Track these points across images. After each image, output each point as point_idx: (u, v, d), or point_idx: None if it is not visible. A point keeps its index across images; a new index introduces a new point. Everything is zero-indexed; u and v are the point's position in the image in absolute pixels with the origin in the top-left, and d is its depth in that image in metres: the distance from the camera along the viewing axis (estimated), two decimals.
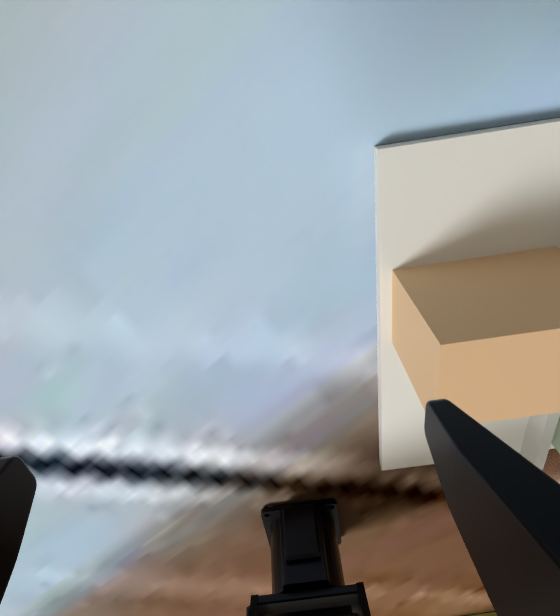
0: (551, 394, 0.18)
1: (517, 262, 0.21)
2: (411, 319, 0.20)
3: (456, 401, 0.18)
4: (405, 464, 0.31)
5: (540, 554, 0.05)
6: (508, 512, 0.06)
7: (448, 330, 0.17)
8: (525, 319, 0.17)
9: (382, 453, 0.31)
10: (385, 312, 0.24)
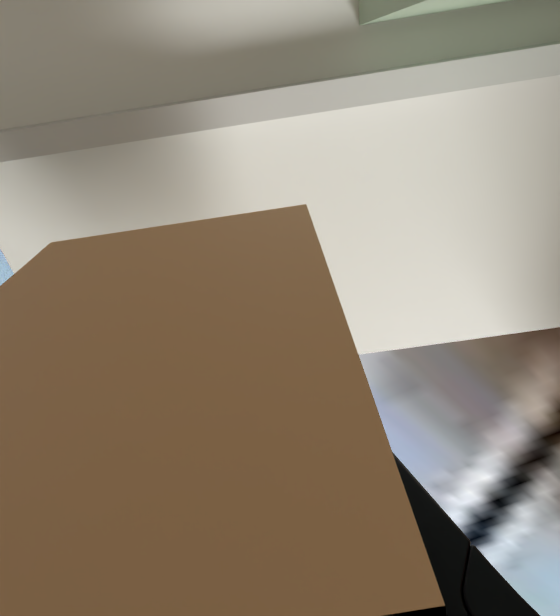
0: None
1: None
2: None
3: None
4: None
5: None
6: None
7: None
8: None
9: (540, 328, 0.19)
10: None
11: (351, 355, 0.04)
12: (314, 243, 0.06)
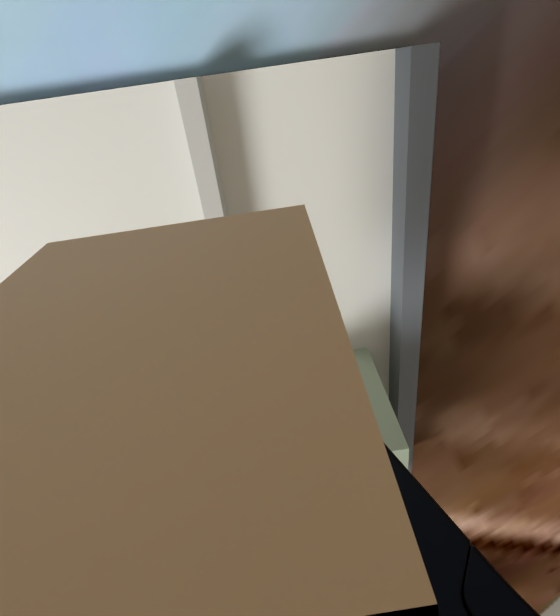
0: None
1: None
2: None
3: None
4: None
5: None
6: None
7: None
8: None
9: None
10: None
11: (348, 357, 0.04)
12: (312, 244, 0.06)
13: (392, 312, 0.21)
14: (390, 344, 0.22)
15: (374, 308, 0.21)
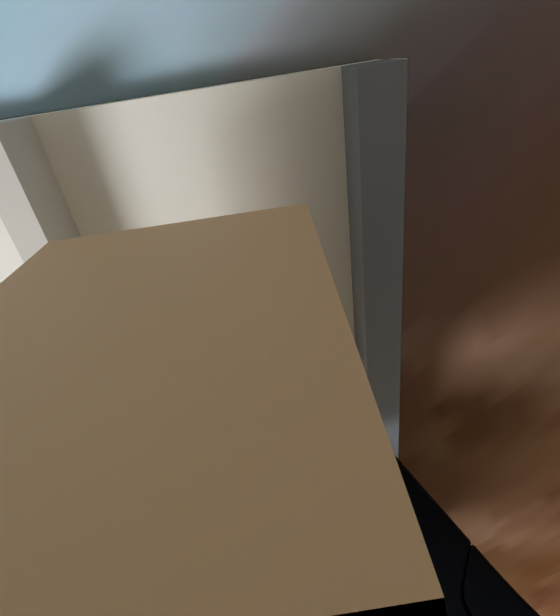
0: None
1: None
2: None
3: None
4: None
5: None
6: None
7: None
8: None
9: None
10: None
11: (352, 356, 0.04)
12: (314, 242, 0.06)
13: None
14: None
15: None
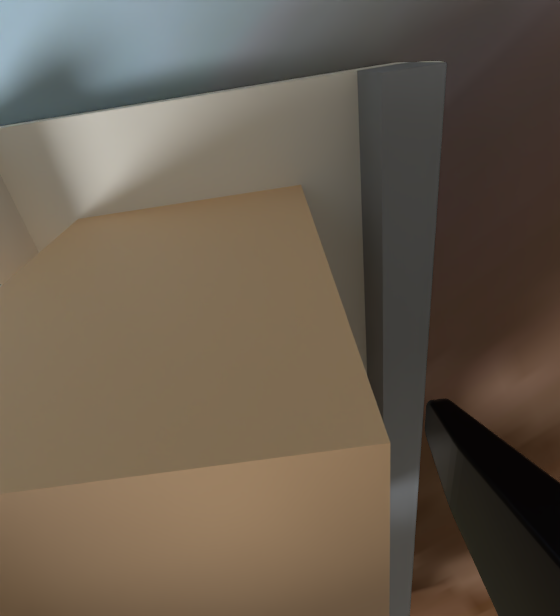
0: None
1: None
2: None
3: None
4: None
5: (541, 554, 0.05)
6: (509, 512, 0.06)
7: None
8: None
9: None
10: None
11: (330, 285, 0.05)
12: (306, 213, 0.07)
13: None
14: None
15: None
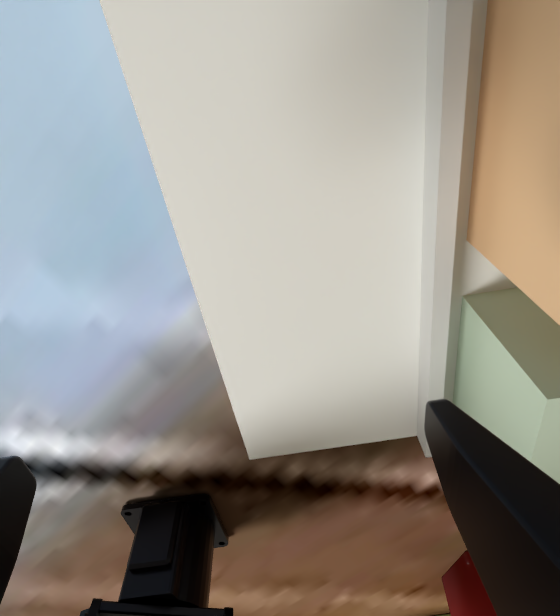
0: None
1: (496, 86, 0.14)
2: None
3: None
4: (276, 452, 0.26)
5: (540, 554, 0.05)
6: (508, 512, 0.06)
7: (551, 296, 0.13)
8: None
9: (243, 438, 0.25)
10: (188, 251, 0.18)
11: None
12: None
13: None
14: None
15: None
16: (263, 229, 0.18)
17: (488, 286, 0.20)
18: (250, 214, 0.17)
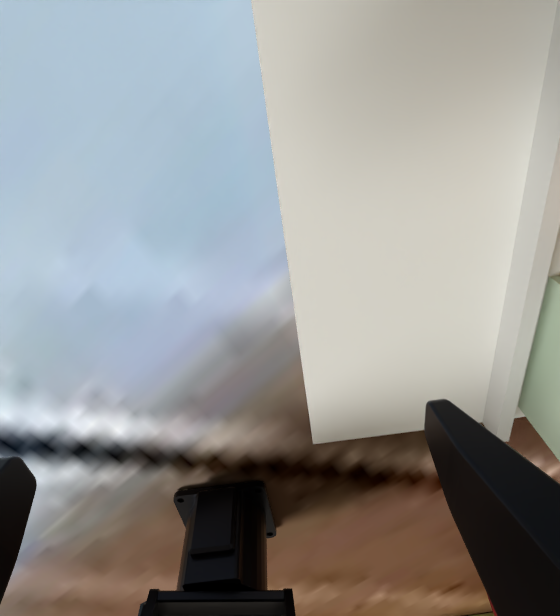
0: None
1: None
2: None
3: None
4: (340, 436, 0.25)
5: (540, 554, 0.05)
6: (508, 512, 0.06)
7: None
8: None
9: (311, 421, 0.25)
10: (289, 222, 0.18)
11: None
12: None
13: None
14: None
15: None
16: (366, 201, 0.18)
17: None
18: (356, 185, 0.17)
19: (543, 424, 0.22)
